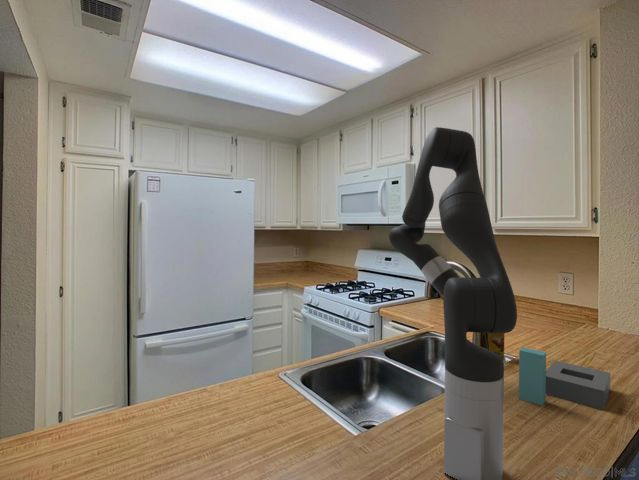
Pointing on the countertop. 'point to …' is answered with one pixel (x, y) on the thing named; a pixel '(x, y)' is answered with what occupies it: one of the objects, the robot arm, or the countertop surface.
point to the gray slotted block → (578, 384)
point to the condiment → (497, 344)
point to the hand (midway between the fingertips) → (482, 322)
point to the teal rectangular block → (532, 376)
